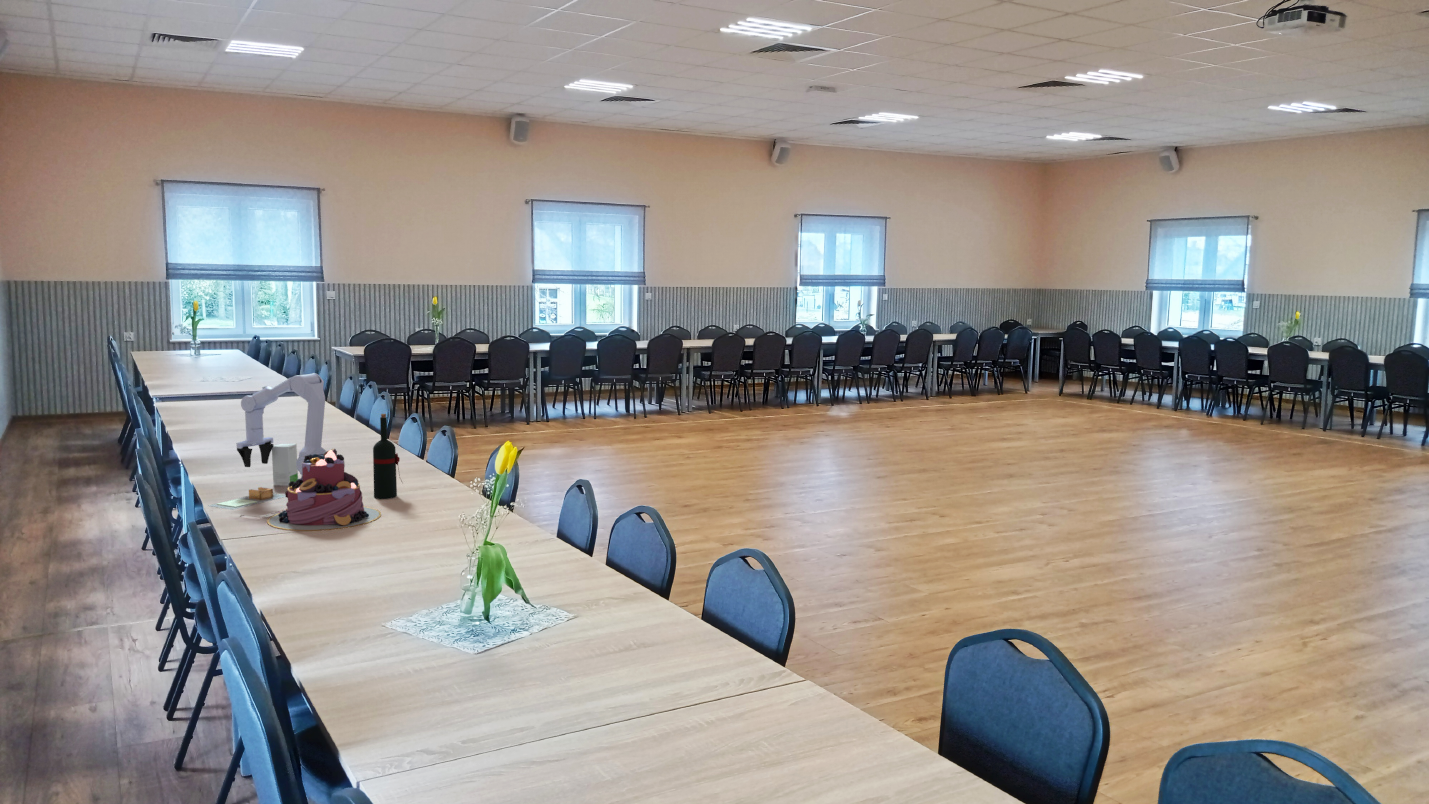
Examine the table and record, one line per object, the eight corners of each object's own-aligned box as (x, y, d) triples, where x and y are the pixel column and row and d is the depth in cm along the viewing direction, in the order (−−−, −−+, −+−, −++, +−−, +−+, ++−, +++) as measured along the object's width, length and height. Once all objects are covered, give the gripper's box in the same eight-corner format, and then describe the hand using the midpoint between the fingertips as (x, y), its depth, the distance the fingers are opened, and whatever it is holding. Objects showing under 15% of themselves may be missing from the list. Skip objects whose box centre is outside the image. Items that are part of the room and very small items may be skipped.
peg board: (289, 498, 363) (289, 490, 363) (232, 512, 342) (232, 503, 341) (264, 495, 368) (264, 486, 368) (207, 508, 347) (206, 499, 346)
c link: (273, 497, 360) (272, 488, 360) (261, 500, 356) (261, 491, 356) (260, 495, 363) (260, 487, 362) (249, 498, 358) (248, 489, 358)
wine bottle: (404, 497, 367) (402, 414, 363) (374, 499, 364) (372, 415, 360) (402, 493, 374) (401, 412, 371) (373, 495, 371) (371, 412, 367)
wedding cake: (258, 534, 315) (255, 461, 312) (275, 508, 349) (273, 443, 346) (378, 528, 324) (376, 458, 322) (383, 504, 358) (381, 440, 355)
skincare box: (289, 488, 380) (287, 446, 378) (271, 488, 380) (270, 446, 378) (299, 483, 388) (297, 443, 386) (281, 483, 389) (280, 442, 387)
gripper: (262, 424, 379) (264, 461, 380) (229, 430, 366) (231, 467, 367) (276, 426, 376) (278, 462, 378) (243, 431, 363) (245, 469, 364)
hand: (256, 465), depth 372 cm, fingers open, 7 cm apart
